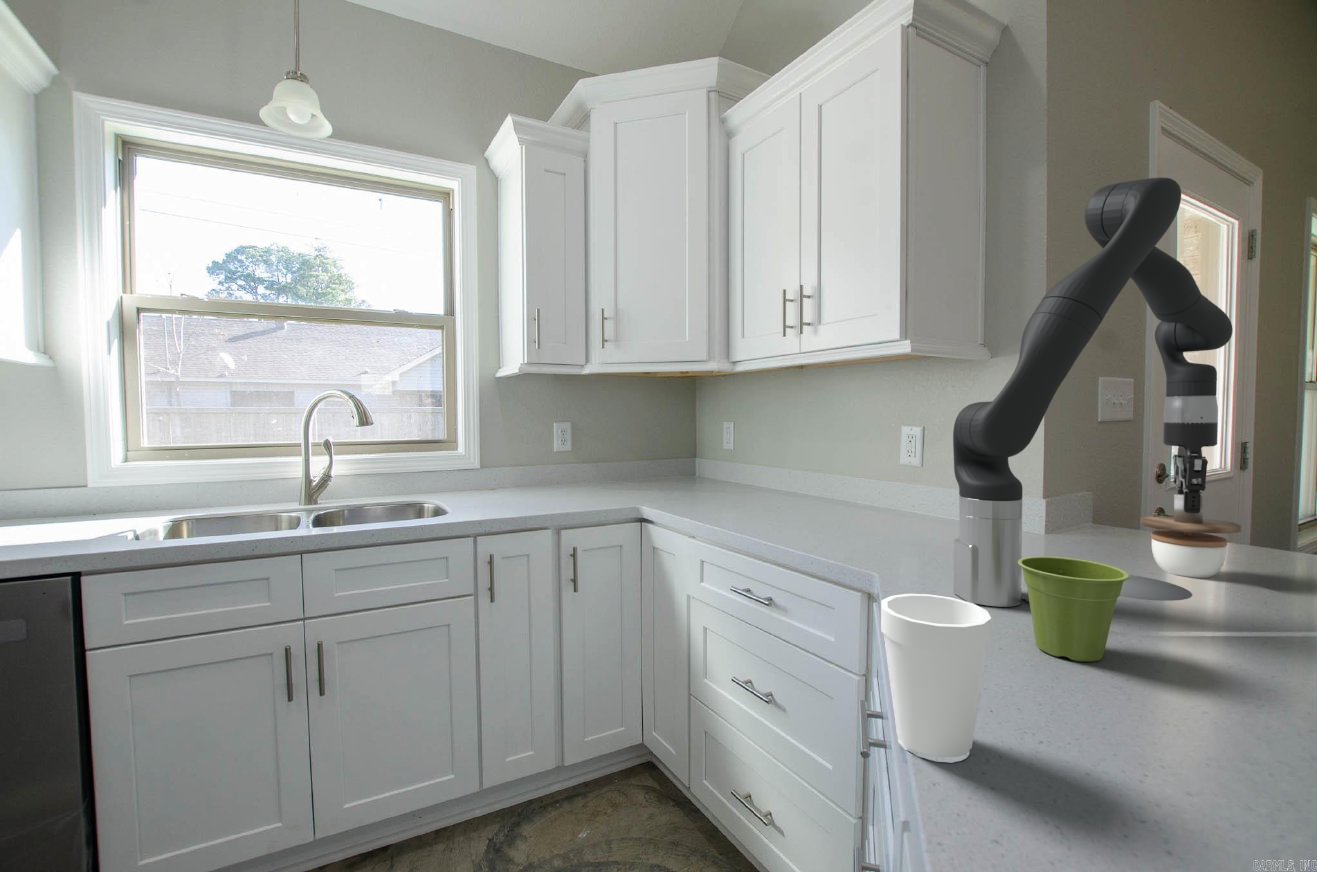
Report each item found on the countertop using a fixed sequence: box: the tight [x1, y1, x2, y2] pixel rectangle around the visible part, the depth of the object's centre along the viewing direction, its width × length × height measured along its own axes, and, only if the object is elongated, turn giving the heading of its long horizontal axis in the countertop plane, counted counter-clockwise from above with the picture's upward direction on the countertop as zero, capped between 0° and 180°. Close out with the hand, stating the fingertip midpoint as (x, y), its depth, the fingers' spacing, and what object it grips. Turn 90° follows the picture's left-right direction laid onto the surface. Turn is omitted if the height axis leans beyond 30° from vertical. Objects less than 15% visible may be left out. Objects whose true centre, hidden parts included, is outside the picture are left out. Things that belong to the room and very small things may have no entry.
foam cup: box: [880, 593, 992, 757], centre depth 55 cm, size 10×9×13 cm
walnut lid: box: [1139, 494, 1242, 535], centre depth 110 cm, size 14×14×6 cm
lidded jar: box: [1150, 529, 1228, 579], centre depth 111 cm, size 11×11×9 cm
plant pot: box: [1018, 556, 1130, 663], centre depth 76 cm, size 12×12×11 cm
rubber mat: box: [1119, 574, 1193, 602], centre depth 103 cm, size 17×17×1 cm
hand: (1188, 510), depth 110 cm, fingers open, 4 cm apart
